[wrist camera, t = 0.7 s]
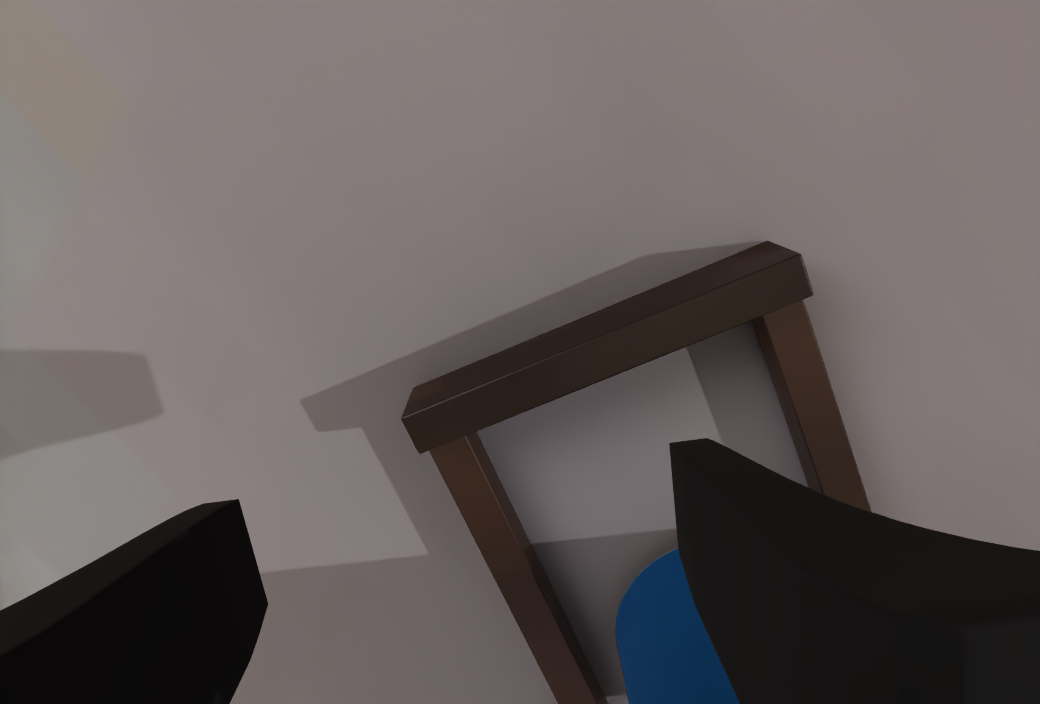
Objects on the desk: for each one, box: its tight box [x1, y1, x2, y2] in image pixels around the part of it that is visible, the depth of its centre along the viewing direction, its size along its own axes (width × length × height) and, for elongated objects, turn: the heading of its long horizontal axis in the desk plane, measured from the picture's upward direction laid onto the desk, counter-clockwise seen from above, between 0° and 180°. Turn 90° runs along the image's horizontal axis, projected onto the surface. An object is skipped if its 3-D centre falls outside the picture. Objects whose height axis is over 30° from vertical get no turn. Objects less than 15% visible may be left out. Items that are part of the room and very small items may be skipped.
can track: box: [401, 241, 871, 704], centre depth 22 cm, size 15×11×2 cm
